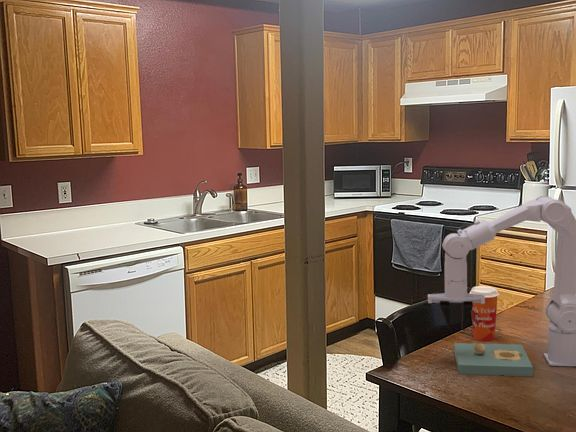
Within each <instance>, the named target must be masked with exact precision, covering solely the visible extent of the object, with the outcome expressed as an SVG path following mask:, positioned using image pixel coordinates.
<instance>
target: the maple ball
mask: <svg viewBox="0 0 576 432" xmlns="http://www.w3.org/2000/svg"><path fill="white" fill-rule="evenodd" d="M474 344H475V346H474V351H475V353H477V354H483V353H484V352H485V346H484V345H483V344H484V343H481V342H477V343H474Z"/></svg>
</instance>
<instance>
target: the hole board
mask: <svg viewBox="0 0 576 432" xmlns="http://www.w3.org/2000/svg"><path fill="white" fill-rule="evenodd" d="M475 344H476V343H464V342H461V343H459V342H453V352H454V356H455V357H454V358H455V362H456V367H457V373H458V375H471V376H472V375H473V376H474V375H475V376H500V375H504V376H507V377H508V376H510V377H512V376H513V377H534V366H533V365H532V364H533V363H532V362H531V361H530V358H529V357H528V355H527V352H526V351H525V349H524V347H523V345H522V344H515V343H514V344H510V343H509V344H507V343H506V344H504V343H503V344H501V343H482V344H483V345H484V346H485V352H484V353H483V354H477V353H475V351H474V346H475ZM504 376H503V377H504Z"/></svg>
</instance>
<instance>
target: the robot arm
mask: <svg viewBox="0 0 576 432" xmlns="http://www.w3.org/2000/svg"><path fill="white" fill-rule="evenodd" d="M526 221H529V222H537V223H540V222H543V223H547V224H548V225H549V226H550V227H551V228H552V229H553V230H554V231H555V232H556V233H557V235H556V249H555V250H556V252H555V254H556V255H555V264H554V265H555V267H554V280H553V281H554V283H553V285H554V286H553V292H552V293H551V294H550V296H549V301H548V304H547V305H546V307H545V316H546V318H547V319H548V320H549V323H548V325H547V327H548V329H547V330H548V332H547V352H544V353H543V357H544V358H545V360H546V361H547V363H548V364H549V366H551V367H552V366H554V367H576V218H575V216H574V214H573V212H572V208H571V207H570V206H569V205H568V204H566V202H563V201H561V200H559V199H555V198H552V197H550V196H549V195H548V196H547V195H539V196H538V197H537V198H535V199H531V200H527V201H526V202H525V203H523V204H521V205H519V206H517V207H515V208H514V209H511V210H509V211H507V212H506V213H503V215H500V216H499V217H497V218H495V219H493V220H491V221H487V220H485V219H483V220H481V221H480V220H479V219H477V220H475V221H473V223H474V224H472V225H469V226H467V227H466V228H464V229H461V228H460V229H458V230H457V231H456V232H457V233H449V234H448V235H446V236H445V238H444V239H443V242H442V244H441V246H442V249H443V250H444V251H445V253H444V264H443V265H444V292H442V293H431V294H430V293H429V294H427V303H428V304H433V303H435V304H436V303H439V307H440V309H441V311H442V313H443V316H444V318H445V321H446V325H447V326H446V327H447V328H446V329H447V331H451V327H452V326H451V305H450V303H451V304H452V303H453V304H461V330H462V331H465V330H466V326H467V321H468V319H469V316H470V314H471V313H472V308H473V303H481V304H485V296H484V295H478V294H469V293H468V262H467V255H468V254H469V252H470V251H473V250H475V249H477V248H479V247H482V246H483V245H485V244H487V243H489V242H491V241H494V240H495V238H496V235H497V233H499V232H501V231H504V230H507V229H509V228H511V227H515V226H516V225H518V224H521V223H523V222H526Z"/></svg>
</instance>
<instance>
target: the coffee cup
mask: <svg viewBox="0 0 576 432" xmlns="http://www.w3.org/2000/svg"><path fill="white" fill-rule="evenodd" d="M468 294H478V295H484V296H485V304H481V303H473V308H472V310H471V321H472V333H473V335H472V336H473V339H474V340H475V341H476V340H477V341H480V342H492V341H494V340H495V337H496V325H497V324H496V323H497V309H498V296H500V293H499V291H498V290H497V288H495V287H494V286H488V285H478V286H477V285H476V286H473V287H472V288H471V290H470V291H469V293H468ZM491 340H492V341H491Z"/></svg>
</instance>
